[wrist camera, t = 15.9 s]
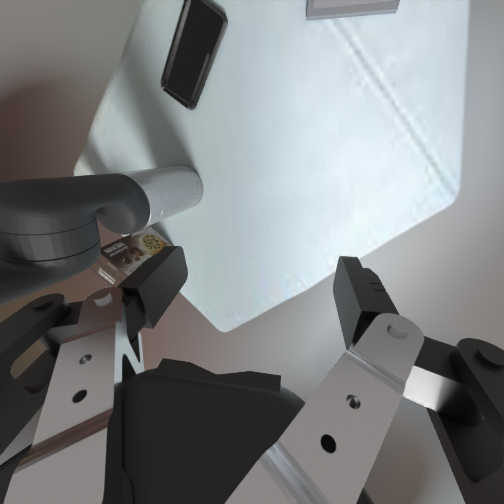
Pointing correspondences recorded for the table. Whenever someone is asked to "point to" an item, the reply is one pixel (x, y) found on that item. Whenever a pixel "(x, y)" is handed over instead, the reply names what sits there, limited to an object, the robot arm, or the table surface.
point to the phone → (193, 51)
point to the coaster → (349, 8)
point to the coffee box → (127, 255)
